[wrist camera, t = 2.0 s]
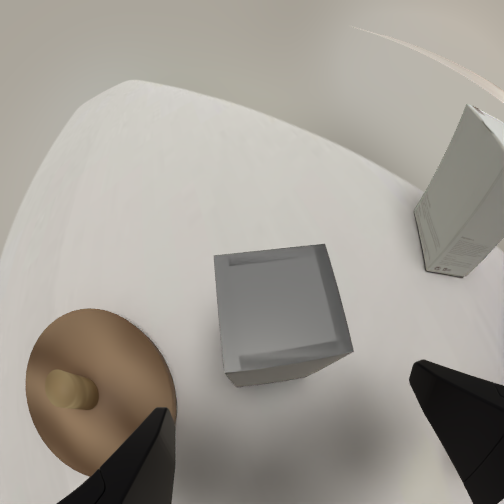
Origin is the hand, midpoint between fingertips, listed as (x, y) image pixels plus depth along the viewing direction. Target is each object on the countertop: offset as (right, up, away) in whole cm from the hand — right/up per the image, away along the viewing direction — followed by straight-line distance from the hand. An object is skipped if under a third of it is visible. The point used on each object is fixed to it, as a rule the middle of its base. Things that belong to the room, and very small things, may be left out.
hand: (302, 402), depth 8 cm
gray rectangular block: (-1, -2, +11) cm, 11 cm away
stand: (-14, -6, +9) cm, 18 cm away
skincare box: (+18, +6, +17) cm, 26 cm away
